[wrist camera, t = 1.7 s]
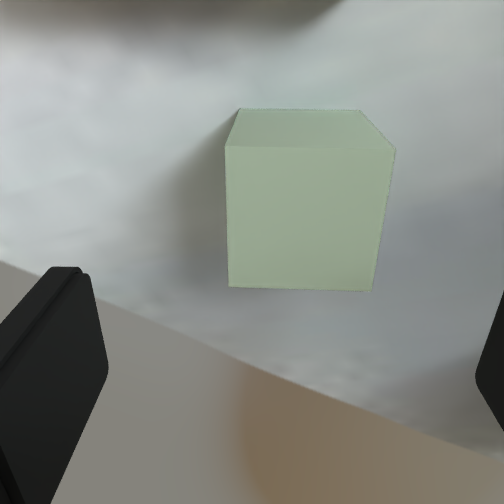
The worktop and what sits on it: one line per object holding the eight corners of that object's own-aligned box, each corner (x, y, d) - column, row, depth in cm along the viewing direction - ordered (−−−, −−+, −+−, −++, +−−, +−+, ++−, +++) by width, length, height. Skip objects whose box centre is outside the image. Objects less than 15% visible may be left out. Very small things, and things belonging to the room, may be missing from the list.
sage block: (359, 110, 17) (395, 149, 12) (346, 219, 20) (371, 291, 15) (239, 108, 18) (224, 146, 12) (240, 216, 20) (228, 287, 15)
